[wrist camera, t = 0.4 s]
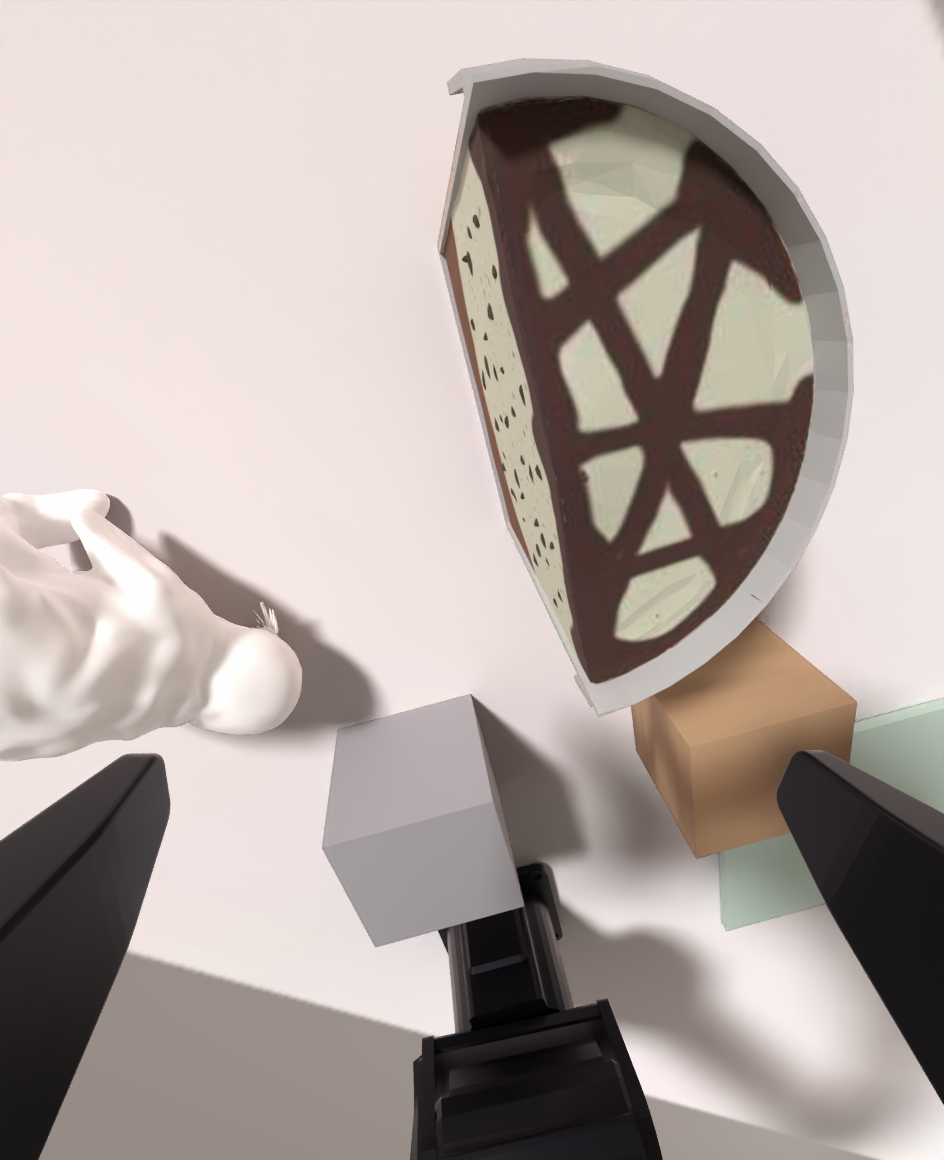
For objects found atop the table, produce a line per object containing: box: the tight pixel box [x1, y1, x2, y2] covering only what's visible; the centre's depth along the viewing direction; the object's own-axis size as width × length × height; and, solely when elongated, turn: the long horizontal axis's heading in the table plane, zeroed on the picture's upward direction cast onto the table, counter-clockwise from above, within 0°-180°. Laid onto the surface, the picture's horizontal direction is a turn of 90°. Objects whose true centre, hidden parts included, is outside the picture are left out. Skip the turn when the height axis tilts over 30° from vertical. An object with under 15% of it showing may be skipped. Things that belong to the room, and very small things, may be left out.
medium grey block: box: [322, 694, 524, 947], centre depth 23 cm, size 6×6×6 cm
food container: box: [437, 58, 854, 717], centre depth 14 cm, size 12×6×10 cm, turn 15°
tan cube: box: [631, 617, 857, 859], centre depth 23 cm, size 6×6×6 cm
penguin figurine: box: [0, 489, 302, 761], centre depth 17 cm, size 6×8×12 cm
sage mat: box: [719, 698, 944, 931], centre depth 31 cm, size 14×14×1 cm
